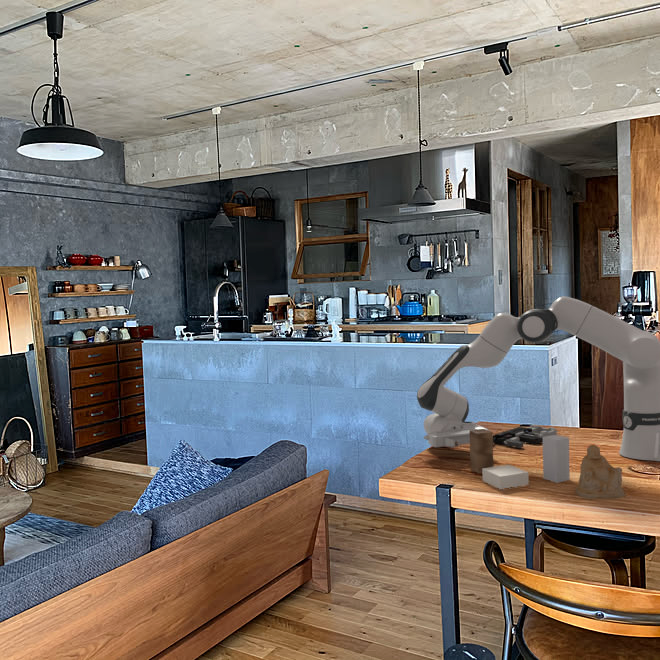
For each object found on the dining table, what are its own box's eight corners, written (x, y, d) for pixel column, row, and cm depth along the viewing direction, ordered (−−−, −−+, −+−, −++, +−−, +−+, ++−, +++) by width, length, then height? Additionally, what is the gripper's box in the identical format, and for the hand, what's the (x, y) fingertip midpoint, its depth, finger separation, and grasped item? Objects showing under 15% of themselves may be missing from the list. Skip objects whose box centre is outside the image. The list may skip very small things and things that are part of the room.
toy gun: (513, 456, 218) (474, 448, 229) (562, 437, 240) (525, 431, 251) (513, 445, 218) (474, 438, 229) (562, 427, 240) (525, 422, 251)
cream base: (509, 478, 193) (509, 464, 193) (528, 486, 184) (528, 472, 184) (482, 482, 190) (482, 468, 190) (500, 491, 182) (500, 476, 181)
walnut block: (485, 467, 204) (484, 428, 203) (493, 471, 199) (492, 432, 198) (470, 469, 203) (469, 430, 202) (478, 473, 198) (477, 433, 197)
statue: (603, 444, 184) (622, 442, 174) (612, 497, 180) (632, 497, 171) (561, 448, 182) (578, 445, 173) (569, 501, 179) (587, 501, 169)
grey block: (555, 475, 192) (554, 434, 192) (569, 479, 188) (568, 437, 187) (543, 478, 190) (542, 437, 189) (557, 482, 186) (556, 440, 185)
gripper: (421, 427, 219) (438, 435, 206) (478, 421, 224) (498, 429, 211) (422, 446, 220) (439, 455, 206) (478, 439, 224) (498, 448, 211)
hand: (469, 442), depth 208 cm, fingers open, 8 cm apart
